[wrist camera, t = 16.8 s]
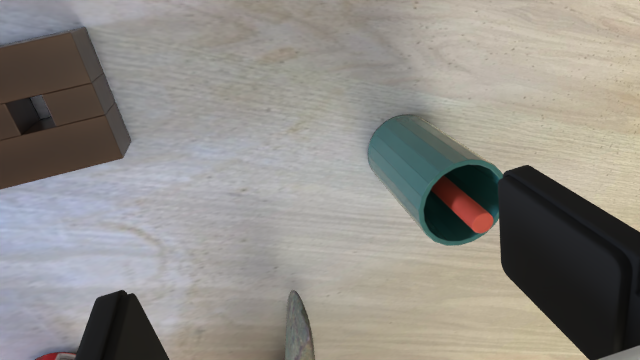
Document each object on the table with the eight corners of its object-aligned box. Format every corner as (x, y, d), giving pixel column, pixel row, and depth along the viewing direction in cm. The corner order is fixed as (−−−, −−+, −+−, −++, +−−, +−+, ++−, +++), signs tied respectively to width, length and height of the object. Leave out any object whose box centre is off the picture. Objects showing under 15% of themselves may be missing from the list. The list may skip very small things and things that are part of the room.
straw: (396, 148, 43) (471, 216, 31) (411, 143, 43) (493, 210, 31) (397, 163, 44) (472, 236, 31) (413, 158, 44) (494, 230, 31)
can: (362, 125, 42) (414, 174, 31) (432, 106, 43) (506, 148, 32) (372, 190, 45) (423, 256, 34) (438, 172, 46) (507, 231, 35)
